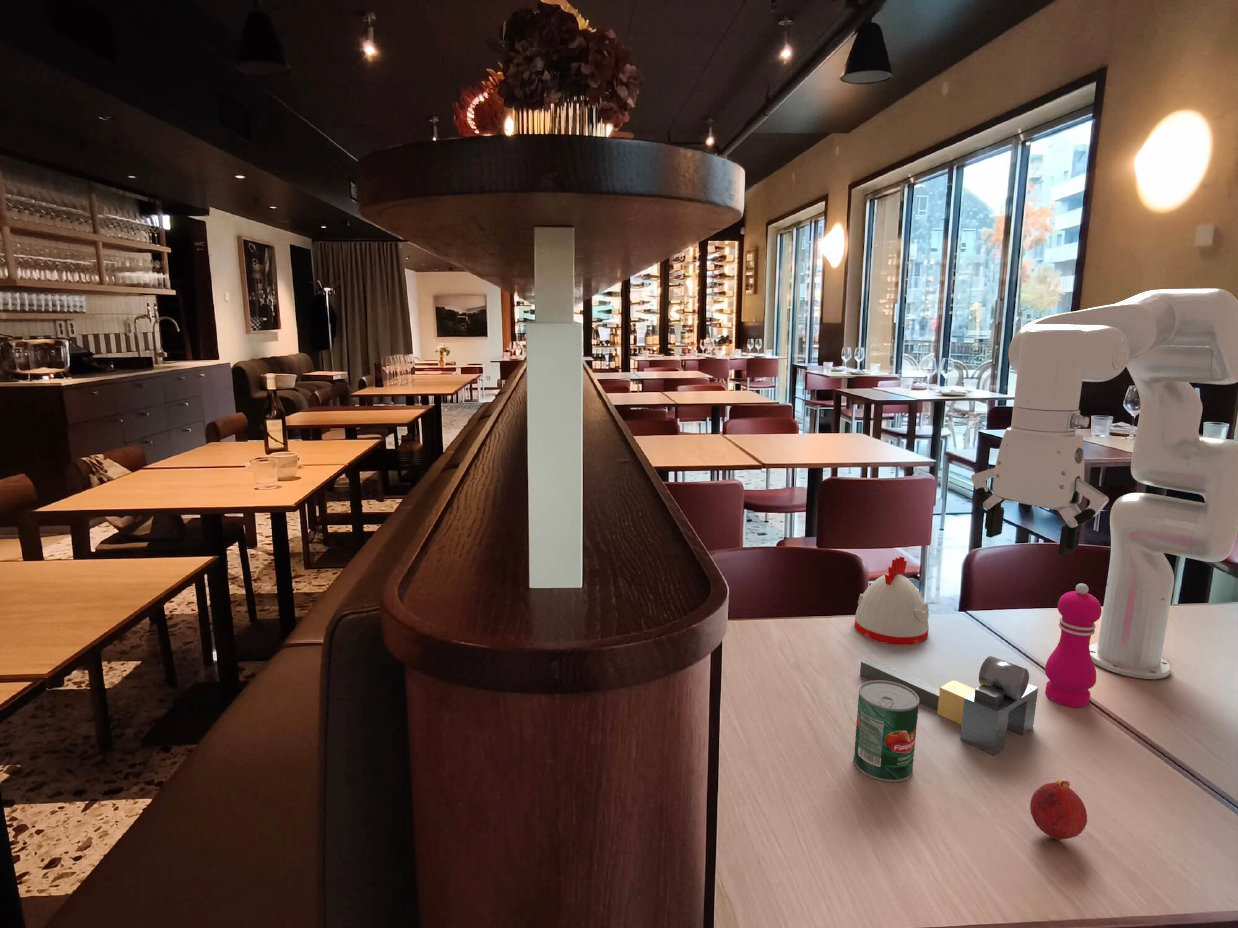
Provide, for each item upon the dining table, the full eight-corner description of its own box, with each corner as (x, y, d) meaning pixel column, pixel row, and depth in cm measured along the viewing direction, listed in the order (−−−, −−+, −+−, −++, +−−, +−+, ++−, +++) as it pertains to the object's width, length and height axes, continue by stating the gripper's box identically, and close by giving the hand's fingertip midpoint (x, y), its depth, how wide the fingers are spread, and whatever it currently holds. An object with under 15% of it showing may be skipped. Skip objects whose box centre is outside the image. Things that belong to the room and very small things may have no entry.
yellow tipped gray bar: (870, 670, 130) (872, 646, 129) (981, 719, 115) (984, 692, 114) (857, 676, 128) (859, 652, 127) (967, 727, 112) (970, 700, 111)
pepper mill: (1100, 711, 117) (1118, 593, 113) (1051, 706, 118) (1066, 590, 114) (1081, 689, 124) (1098, 577, 120) (1035, 684, 125) (1049, 574, 121)
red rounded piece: (1055, 859, 85) (1063, 798, 83) (1015, 827, 90) (1023, 769, 89) (1094, 849, 87) (1103, 789, 85) (1053, 818, 92) (1061, 761, 90)
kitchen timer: (938, 629, 147) (945, 558, 144) (911, 651, 138) (917, 576, 135) (872, 610, 157) (877, 543, 154) (842, 630, 147) (847, 559, 144)
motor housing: (1000, 713, 116) (1008, 646, 114) (1033, 727, 112) (1042, 658, 110) (960, 739, 109) (967, 667, 107) (993, 755, 105) (1002, 681, 103)
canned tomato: (858, 743, 108) (863, 674, 106) (915, 758, 104) (922, 687, 102) (848, 772, 101) (854, 700, 99) (909, 789, 98) (916, 714, 95)
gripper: (1129, 427, 93) (1110, 555, 96) (993, 412, 106) (981, 525, 110) (1104, 432, 88) (1085, 567, 92) (965, 416, 102) (954, 533, 105)
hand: (1028, 544), depth 101 cm, fingers open, 9 cm apart
